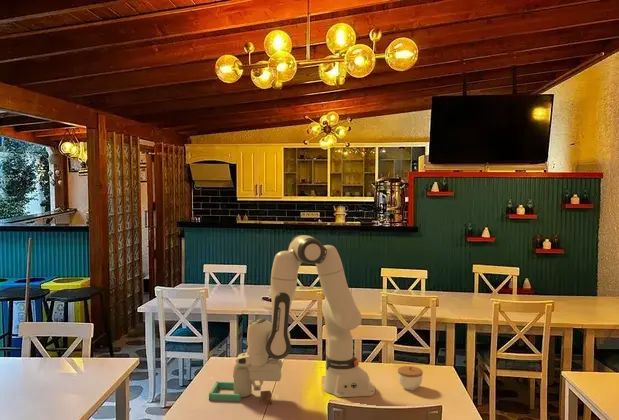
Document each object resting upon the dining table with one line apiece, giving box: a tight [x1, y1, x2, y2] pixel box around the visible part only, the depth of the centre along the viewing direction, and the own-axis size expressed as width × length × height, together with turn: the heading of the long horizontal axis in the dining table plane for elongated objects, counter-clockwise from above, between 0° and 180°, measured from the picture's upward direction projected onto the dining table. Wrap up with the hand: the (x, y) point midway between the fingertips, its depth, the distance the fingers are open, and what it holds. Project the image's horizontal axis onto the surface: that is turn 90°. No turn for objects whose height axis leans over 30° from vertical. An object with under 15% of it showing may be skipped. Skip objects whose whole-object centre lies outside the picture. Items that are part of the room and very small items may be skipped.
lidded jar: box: [397, 365, 424, 391], centre depth 221 cm, size 11×11×9 cm
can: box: [233, 369, 253, 398], centre depth 211 cm, size 8×8×12 cm
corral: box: [208, 381, 242, 402], centre depth 212 cm, size 13×13×2 cm
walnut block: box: [259, 390, 272, 406], centre depth 204 cm, size 4×4×4 cm
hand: (257, 390), depth 211 cm, fingers closed
